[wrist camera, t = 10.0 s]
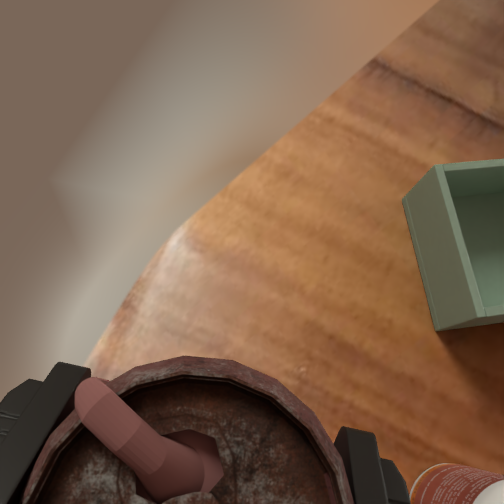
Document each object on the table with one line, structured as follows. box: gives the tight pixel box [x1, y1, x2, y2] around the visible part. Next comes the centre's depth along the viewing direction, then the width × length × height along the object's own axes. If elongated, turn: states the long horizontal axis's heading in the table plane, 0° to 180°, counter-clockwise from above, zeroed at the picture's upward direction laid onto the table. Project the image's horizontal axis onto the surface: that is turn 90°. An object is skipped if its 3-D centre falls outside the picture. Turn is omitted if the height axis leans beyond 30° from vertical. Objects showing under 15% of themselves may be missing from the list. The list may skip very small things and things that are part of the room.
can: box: [19, 356, 354, 504], centre depth 14 cm, size 6×6×14 cm
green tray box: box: [402, 159, 504, 331], centre depth 34 cm, size 11×11×6 cm
